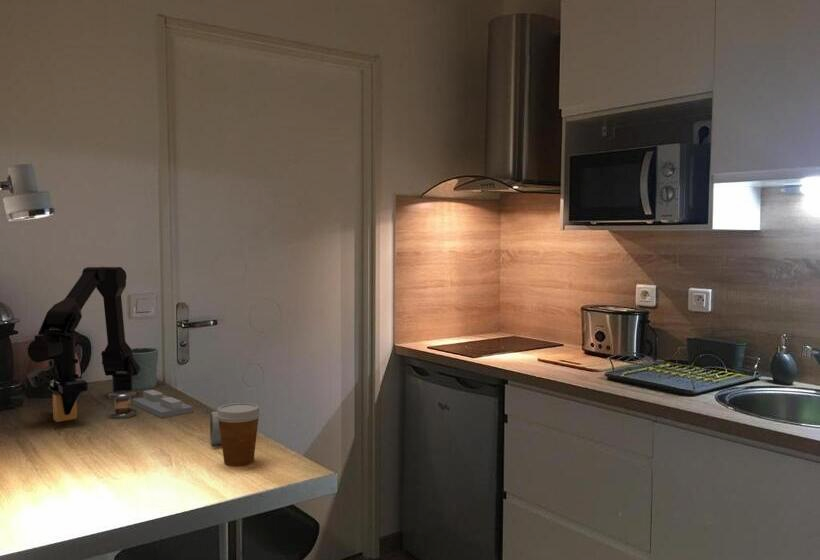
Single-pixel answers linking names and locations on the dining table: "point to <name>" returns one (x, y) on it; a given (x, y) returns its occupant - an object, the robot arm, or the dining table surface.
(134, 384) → the grey green pot
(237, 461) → the disposable coffee cup
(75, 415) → the orange tab
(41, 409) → the dining table surface
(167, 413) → the notched board
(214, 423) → the ceramic mug
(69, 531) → the dining table surface
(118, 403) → the grey and brown spool
